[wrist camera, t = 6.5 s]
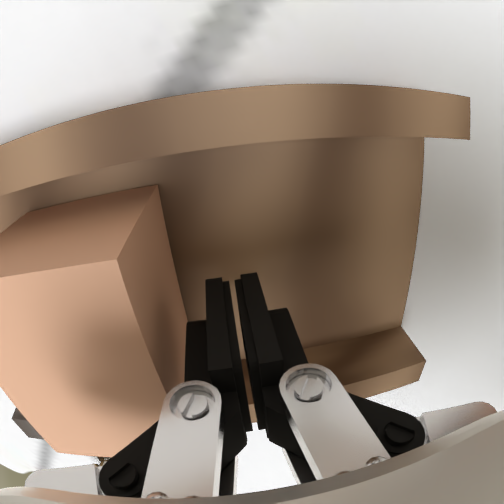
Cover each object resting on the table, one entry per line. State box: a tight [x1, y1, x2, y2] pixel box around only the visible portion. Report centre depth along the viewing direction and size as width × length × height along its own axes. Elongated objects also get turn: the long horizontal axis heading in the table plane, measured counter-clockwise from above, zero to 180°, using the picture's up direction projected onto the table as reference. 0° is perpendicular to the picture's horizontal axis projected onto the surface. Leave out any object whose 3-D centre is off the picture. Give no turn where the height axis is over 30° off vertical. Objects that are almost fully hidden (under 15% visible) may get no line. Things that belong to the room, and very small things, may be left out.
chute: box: [0, 84, 470, 439], centre depth 12 cm, size 22×14×5 cm, turn 95°
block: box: [0, 185, 188, 457], centre depth 10 cm, size 6×8×6 cm
